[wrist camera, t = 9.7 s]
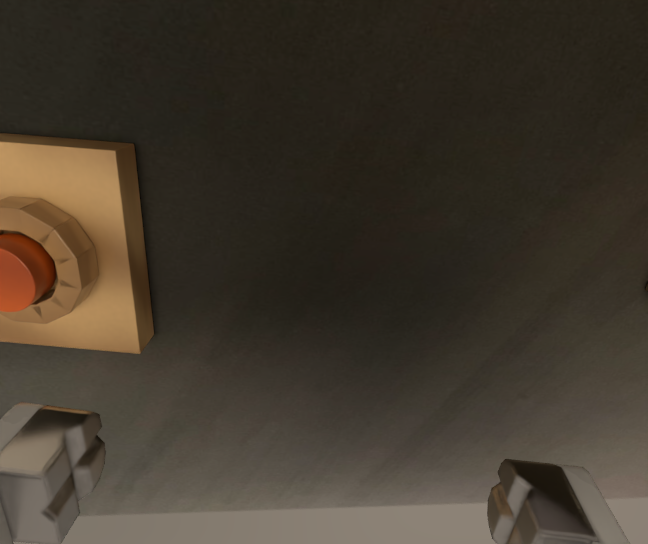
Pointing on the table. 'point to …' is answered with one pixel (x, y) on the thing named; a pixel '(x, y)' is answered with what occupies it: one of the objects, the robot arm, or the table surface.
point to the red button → (23, 272)
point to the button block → (78, 241)
